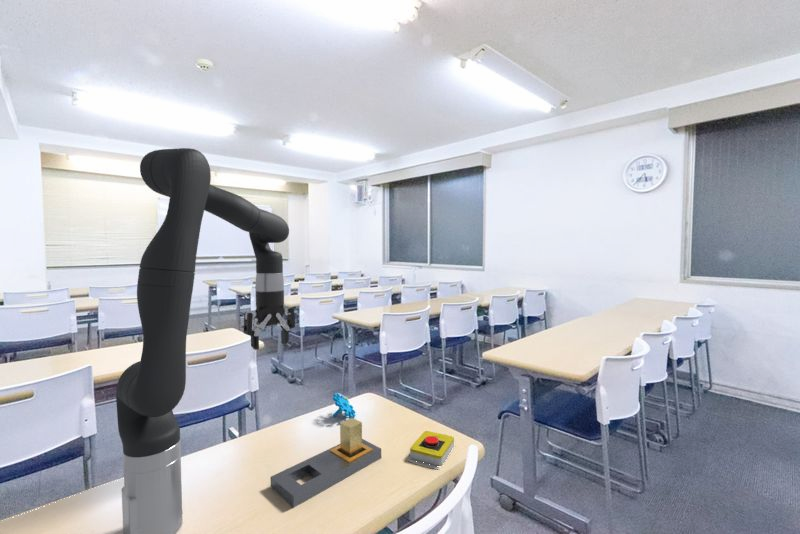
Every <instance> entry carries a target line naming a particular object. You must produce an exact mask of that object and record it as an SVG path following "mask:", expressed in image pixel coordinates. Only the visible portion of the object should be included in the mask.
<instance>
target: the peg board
mask: <svg viewBox="0 0 800 534" xmlns="http://www.w3.org/2000/svg"><path fill="white" fill-rule="evenodd" d="M381 459H382V448H381V447H379V446H378V445H375V444H374V443H371V442H369V441H367V440H366V439H365V438H364V439H363V438H362V452H361V453H359V454H357V455H355V456H353V457H351V458H349V457H347V456H346V455H344V454H342V453H341V452H340V443H338V444H337V445H335V446H333V447H330V448H328V449H326V450H324V451H322V452H319V453H318V454H316V455H314V456H312V457H309V458H308V459H305V460H303V461H301V462H299V463H296V464H295V465H293V466H290V467H288V468H287V469H283V470H282V471H280V472H278V473H276V474H273V475H271V476H270V488H271V489H272V490H273V491H274V492H275V493H276V494H278V496H280V497H281V498H282V499H283V500H284V501H285V502H287V503H288V504H289V505H290V506H291V507H292V508H297V506H299V505H301V504H302V503H304V502H306V501H308V500H309V499H312V498H313V497H316V496H317V495H319V494H320V493H322V492H324V491H326V490H327V489H330V488H331V487H333V486H335V485H336V484H339V483H340V482H341V481H343V480H345V479H347V478H348V477H350V476H352V475H354V474H356V473H358V472H359V471H361V470H362V469H364V468H366V467H368V466H369V465H371V464H373V463H375V462H377V461H379V460H381ZM308 475H309V476H310V477H311V478H312V479H311V478H310V479H309V480H308V481H305V482H304V483H302V484H301V483H299V482H298V481H299V480H301V479H303V478H304V477H306V476H308Z"/></svg>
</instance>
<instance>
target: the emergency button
mask: <svg viewBox="0 0 800 534" xmlns="http://www.w3.org/2000/svg"><path fill="white" fill-rule="evenodd" d="M454 441H455V438H454V436H452V435H448V434H442V433H439V432H434V431H431V430H424V431H423V433H421V435H420V436H419V437H418V438H417V439H416V440H415V441H414V443H413V444H411V446H410V449H409V456H408V457H407V460H408V461H409V462H408V461H407V462H408V463H410V462H412V463H411V464H414V463H416V464H415V465H418V464H419V465H418V466H421V465H423V466H422V467H425V466H427V467H426V468H429V467H430V468H429V469H432V468H434V469H433V470H436V469H439V467H437V466H442V465H443V463H444V462H445V463H446V461H447V460H448V458H449V457H448V455H449V453H450V452H451V450H452V448H453V447H454ZM451 453H452V452H451ZM449 456H450V455H449ZM447 457H448V458H447ZM446 459H447V460H446ZM445 460H446V461H445ZM416 461H417V462H416ZM423 462H424V463H423ZM445 463H444V464H445ZM429 464H430V465H429ZM443 466H444V465H443ZM443 466H442V467H443ZM439 470H440V469H439Z"/></svg>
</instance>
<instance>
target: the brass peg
mask: <svg viewBox="0 0 800 534" xmlns="http://www.w3.org/2000/svg"><path fill="white" fill-rule="evenodd" d="M339 437H340V438H339V439H340V441H339V442H340V443H339V444H340V452H341V453H342V454H344V455H346V456H347V457H349V458H351V457H353V456H355V455H357V454H359V453H361V452H362V439H363V422H362V421H359V420H358V419H355V417H354V418H349V419H346V420H344V421H342V422H340V423H339Z"/></svg>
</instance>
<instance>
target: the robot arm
mask: <svg viewBox="0 0 800 534" xmlns="http://www.w3.org/2000/svg"><path fill="white" fill-rule="evenodd" d="M139 171H140V176H141V178H142V181H143V182H144V184H145V185H146V186H147V187H148V188H149V190H151V191H153V192H155V193H157V194H158V195H162V196H166V197H168V198H169V201H168V208H167V212H166V215H165V217H164V220H163V222H162V223H161V225H160V227H159V229H158V230H157V232H156V233H155V235H154V236H153V238H152V239H151V241H149V243H148V245H147V247H146V248H145V250H144V252H143V254H142V256H141V259H140V263H139V269H138V278H137V284H136V300H137V301H136V302H137V309H138V313H139V319H140V323H141V325H140V326H141V331H142V351H141V356H140V357H141V358H140V361H137V362H134V363H132V364H131V365H129V366H128V367H126V369H125V370H123V372H122V373H121V375H120V377H119V378H118V381H117V384H116V390H115V403H116V417H117V428H118V434H119V437H120V440H121V443H122V454H123V455H122V457H123V483H124V484H123V487H122V488H121V505H122V506H121V508H122V534H176V533H177V532H178V531H179V530H180V529H181V527H182V524H183V514H184V513H183V496H182V495H183V493H182V457H181V456H182V455H181V454H182V452H181V427H180V423H179V422H178V420H177V419H176V416H175V415H174V414H175V413H174V412H173V410H174V409H175V408H176V407H177V406H178V405H179V403H180V401H181V400H182V398H183V396H184V393H185V389H186V382H187V377H186V376H187V336H188V327H189V321H190V313H191V312H190V311H191V305H192V304H191V302H192V298H193V297H192V296H193V291H194V283H195V276H196V264H197V263H196V262H197V253H198V252H197V251H198V248H199V247H198V246H199V241H200V232H201V227H202V221H203V217H204V213H205V212H207V213H209V214H212V215H214V216H216V217H218V218H220V219H222V220H224V221H225V222H226V223H227V222H228V223H229V224H230V225H233V226H234V227H236V228H238V229H240V230H242V231H244V232H246V233H248V236H249V239H250V242H251V246H252V249H253V253H254V256H255V257H254V258H255V271H256V272H255V285H254V286H255V287H254V288H255V308H256V309H255V311H252V312H250V311H249V312H248V311H245V312H244V313H243V331H242V332H243V334H245V335H247V336H250V346H251V348H252V349H253V350H255V351H257V350H259V349H260V336H259V335H260V333H261V332H262V330H263V329H264V328H265V327H269V326H276V325H278V326H279V327H280V329H281V330H280V334H281V335H280V337H281V338H280V340H281V341H280V342H281V344H283V345H287V344H288V342H289V341H290V338H289V337H290V335H289V334H290V333H289V331H290V330H291V329H294V328H295V327H296V318H295V309H294V307H289V306H287V307H285V306H284V305H285V280H284V273H283V271H284V269H283V261H284V259H283V255H282V253H281V252H278V251H276V250H275V251H274V250H272V249H271V247H270V243H271V244H278V243H283V242H284V241H285V240H287V238H288V237H289V234H290V229H289V224H288V222H287V221H286V220H285V219H284V218H282V217H281V216H279V215H277V214H276V213H273V212H270V211H268V210H265V209H261V208H259V207H258V206H256V205H255V204H253V203H252V202H250V201H249V200H247V199H246V198H244V196H243V197H242V196H241V195H238V194H236V193H235V192H230V191H228V190H226V189H223V188H220V187H218V186H215V185H213V184H211V179H212V176H211V175H212V174H211V167H210V163H209V161H208V159H207V158H206V156H205V154H203V153H202V152H201V151H199V150H198V149H195V148H191V147H189V148H188V147H184V148H183V147H181V148H180V147H179V148H162V149H155V150H152V151H150V152H148V153H146V154H145V155H144V156H143V157H142V159H141V160H140V164H139ZM284 315H286V320H285V319H284V318H283V317H284ZM255 318H256V321H255V322H254V325H253V321H254V319H255Z"/></svg>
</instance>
